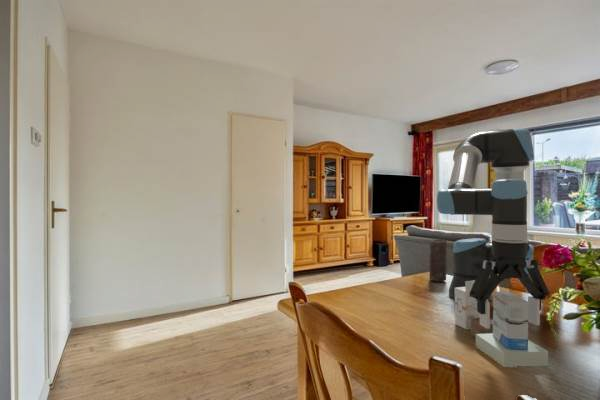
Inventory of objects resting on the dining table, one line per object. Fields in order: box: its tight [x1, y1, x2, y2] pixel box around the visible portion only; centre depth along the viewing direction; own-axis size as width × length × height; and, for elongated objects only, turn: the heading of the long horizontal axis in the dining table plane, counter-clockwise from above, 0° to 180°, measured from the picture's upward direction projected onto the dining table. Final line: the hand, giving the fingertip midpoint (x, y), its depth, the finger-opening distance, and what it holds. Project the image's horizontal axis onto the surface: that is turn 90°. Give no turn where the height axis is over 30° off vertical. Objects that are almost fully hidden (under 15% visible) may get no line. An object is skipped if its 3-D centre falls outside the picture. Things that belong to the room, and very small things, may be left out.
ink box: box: [492, 290, 529, 350], centre depth 83 cm, size 8×5×12 cm, turn 171°
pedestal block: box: [475, 333, 549, 368], centre depth 83 cm, size 11×11×4 cm
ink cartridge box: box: [454, 280, 488, 330], centre depth 103 cm, size 9×5×15 cm, turn 106°
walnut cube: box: [470, 317, 493, 339], centre depth 94 cm, size 5×5×5 cm
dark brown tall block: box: [429, 238, 447, 283], centre depth 157 cm, size 8×7×20 cm
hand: (509, 325), depth 83 cm, fingers open, 13 cm apart
